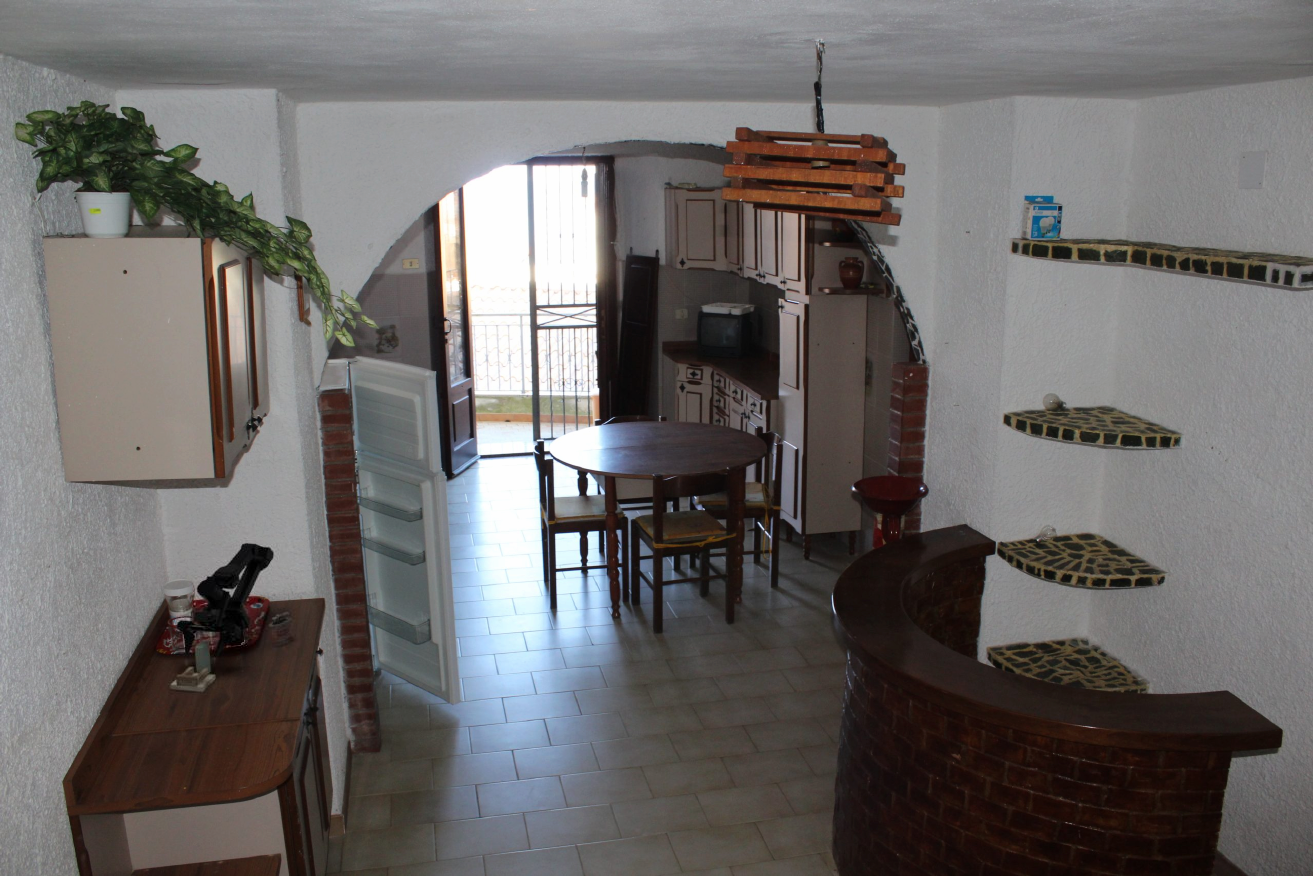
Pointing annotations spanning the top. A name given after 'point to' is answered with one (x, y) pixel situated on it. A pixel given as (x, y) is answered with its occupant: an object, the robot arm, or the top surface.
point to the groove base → (193, 680)
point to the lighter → (280, 630)
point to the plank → (202, 656)
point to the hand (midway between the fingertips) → (200, 655)
